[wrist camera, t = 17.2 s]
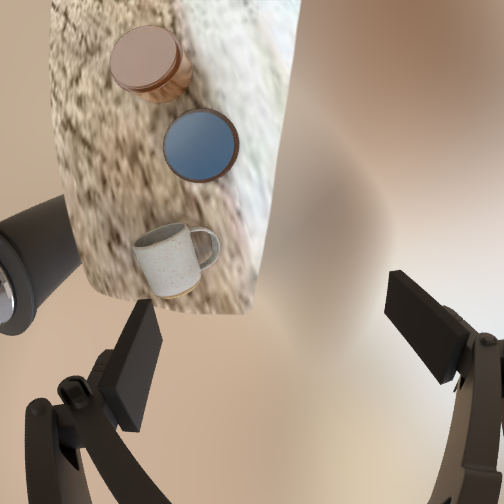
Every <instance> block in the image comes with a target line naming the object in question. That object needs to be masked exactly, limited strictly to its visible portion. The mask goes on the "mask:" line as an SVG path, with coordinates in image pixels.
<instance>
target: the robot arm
mask: <svg viewBox="0 0 504 504" xmlns="http://www.w3.org/2000/svg"><path fill="white" fill-rule="evenodd" d="M388 281H389V282H388V289H387V296H386V304H385V310H384V313H385V314H386V316H387V317H388V318H389V319H390V320H391V322H392V323H393V324H394V326H395V327H396V328H397V329H398V330H399V332H400V333H401V334H402V335H403V337H404V338H405V339H406V340H407V342H408V343H409V344H410V345H411V347H412V348H413V349H414V351H415V352H416V353H417V354H418V356H419V357H420V358H421V360H422V361H423V362H424V364H425V365H426V366H427V368H428V369H429V370H430V371H431V373H432V374H433V376H434V377H435V378H436V379H437V381H438V382H439V384H440V385H441V384H444V383H447V382H449V381H451V380H453V378H454V375H455V373H456V371H458V372H459V374H460V378H459V380H458V382H457V384H456V387H455V389H454V391H453V392H455V391H456V389H457V393H456V400H455V406H454V411H453V417H452V422H451V427H450V432H449V436H448V440H447V445H446V449H445V453H444V457H443V460H442V463H441V467H440V470H439V474H438V477H437V480H436V483H435V486H434V489H433V492H432V495H431V498H430V500H429V502H428V503H427V504H497V503H498V499H499V494H500V488H501V483H502V473H501V472H497V470H496V466H497V459H498V451H499V441H500V427H501V423H502V429H503V435H504V340H497V338H496V337H495V336H493V335H492V334H489V333H478V332H477V331H475V329H474V328H472V327H471V326H470V325H469V324H468V323H467V322H466V321H465V320H463V318H462V317H461V316H459V315H458V314H457V313H456V312H455V311H454V310H453V309H451V308H449V307H446V306H445V305H444V306H442V305H440V304H439V303H438V302H437V301H436V300H435V299H434V298H433V297H431V296H430V295H429V294H428V293H427V292H426V291H425V290H424V289H422V288H421V287H420V286H419V285H418V284H417V283H416V282H414V281H413V280H412V279H411V278H410V277H408V276H407V275H406V274H405V273H404V272H403V271H401V270H396V271H390V272H389V280H388ZM16 306H17V298H16V292H15V288H14V285H13V282H12V279H11V277H10V275H9V273H8V271H7V269H6V268H5V266H4V265H3V263H2V262H1V261H0V325H1V324H4V323H6V322H7V321H8V320H9V319H10V318H11V317H12V316H13V315H14V313H15V311H16ZM162 341H163V339H162V336H161V333H160V329H159V326H158V322H157V319H156V315H155V311H154V307H153V304H152V300H151V299H141V300H138V301H137V303H136V305H135V307H134V309H133V311H132V313H131V315H130V317H129V319H128V321H127V323H126V325H125V327H124V329H123V331H122V334H121V335H120V337H119V339H118V342H117V344H116V346H115V348H114V349H113V350H112V349H111V350H109V349H107V350H105V351H104V352H103V353H101V354H100V355H99V356H98V359H97V360H96V362H95V365H94V367H93V368H92V371H91V373H90V375H89V377H88V379H87V381H86V380H85V379H84V378H83V377H81V376H70V377H67V378H66V379H64V380H63V381H62V382H61V383H60V384H59V386H58V389H57V392H58V394H59V396H60V398H61V399H62V401H63V403H64V404H61V405H54V406H52V405H51V403H50V402H49V401H48V400H47V399H45V398H37V399H35V400H33V401H32V402H30V403H29V405H28V406H27V408H26V414H25V466H26V467H25V468H26V482H27V493H28V501H29V504H92V501H91V497H90V494H89V490H88V486H87V481H86V477H85V473H84V468H83V464H82V459H81V454H80V448H86V450H87V451H88V453H89V455H90V457H91V459H92V461H93V463H94V464H95V466H96V468H97V470H98V471H99V473H100V475H101V477H102V478H103V480H104V481H105V483H106V485H107V486H108V488H109V490H110V491H111V493H112V494H113V496H114V497H115V499H116V500H117V502H118V503H119V504H172V503H171V502H170V501H169V500H168V499H167V498H166V497H165V495H164V494H163V493H162V492H161V491H160V490H159V488H158V487H157V486H156V485H155V484H154V482H153V481H152V480H151V479H150V478H149V476H148V475H147V474H146V472H145V471H144V470H143V468H142V467H141V466H140V465H139V463H138V462H137V461H136V459H135V458H134V456H133V455H132V454H131V452H130V451H129V449H128V448H127V447H126V445H125V444H124V442H123V441H122V439H121V438H120V436H119V435H118V433H117V432H116V428H117V425H118V424H119V426H120V427H121V429H122V431H125V432H140V428H141V423H142V419H143V415H144V411H145V406H146V402H147V398H148V394H149V390H150V386H151V382H152V378H153V374H154V371H155V367H156V363H157V359H158V356H159V352H160V348H161V345H162Z"/></svg>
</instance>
